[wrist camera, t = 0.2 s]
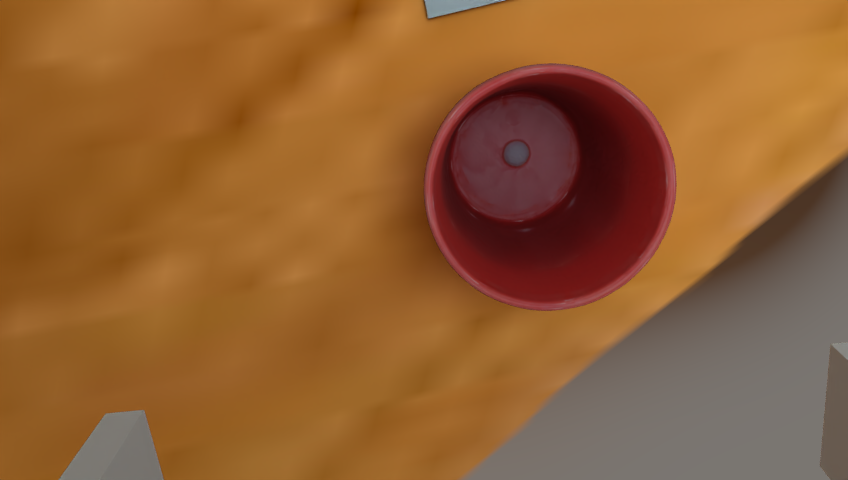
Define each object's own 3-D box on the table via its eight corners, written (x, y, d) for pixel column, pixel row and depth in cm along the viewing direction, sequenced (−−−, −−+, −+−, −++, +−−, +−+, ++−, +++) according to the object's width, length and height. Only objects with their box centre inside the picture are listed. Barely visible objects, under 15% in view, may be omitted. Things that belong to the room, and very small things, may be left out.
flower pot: (525, 8, 39) (570, 4, 29) (649, 164, 41) (726, 205, 32) (374, 144, 40) (370, 180, 31) (502, 286, 43) (535, 359, 34)
